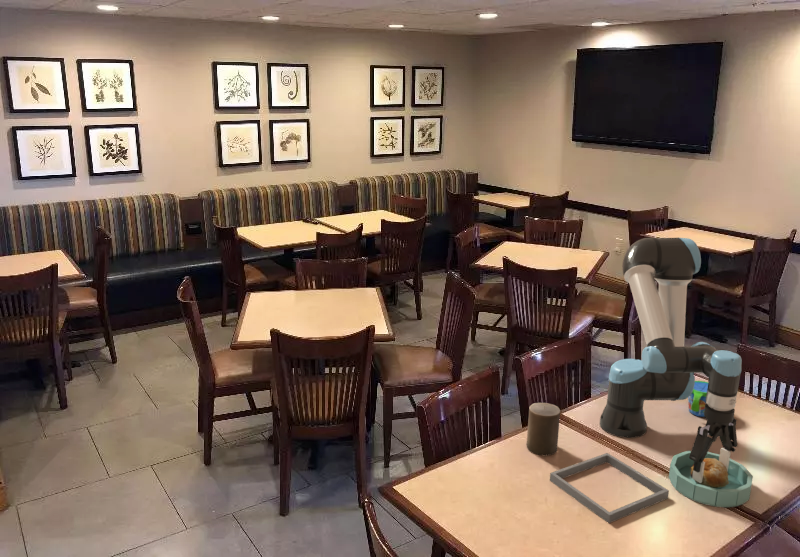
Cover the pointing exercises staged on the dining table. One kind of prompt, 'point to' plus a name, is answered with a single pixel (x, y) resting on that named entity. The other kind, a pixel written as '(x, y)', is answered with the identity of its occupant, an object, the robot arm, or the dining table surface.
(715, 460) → the bread roll
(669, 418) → the dining table surface
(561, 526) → the dining table surface
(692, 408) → the snack cup
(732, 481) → the bowl
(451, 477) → the dining table surface
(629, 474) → the rectangular frame
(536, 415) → the pillar candle
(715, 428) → the robot arm
